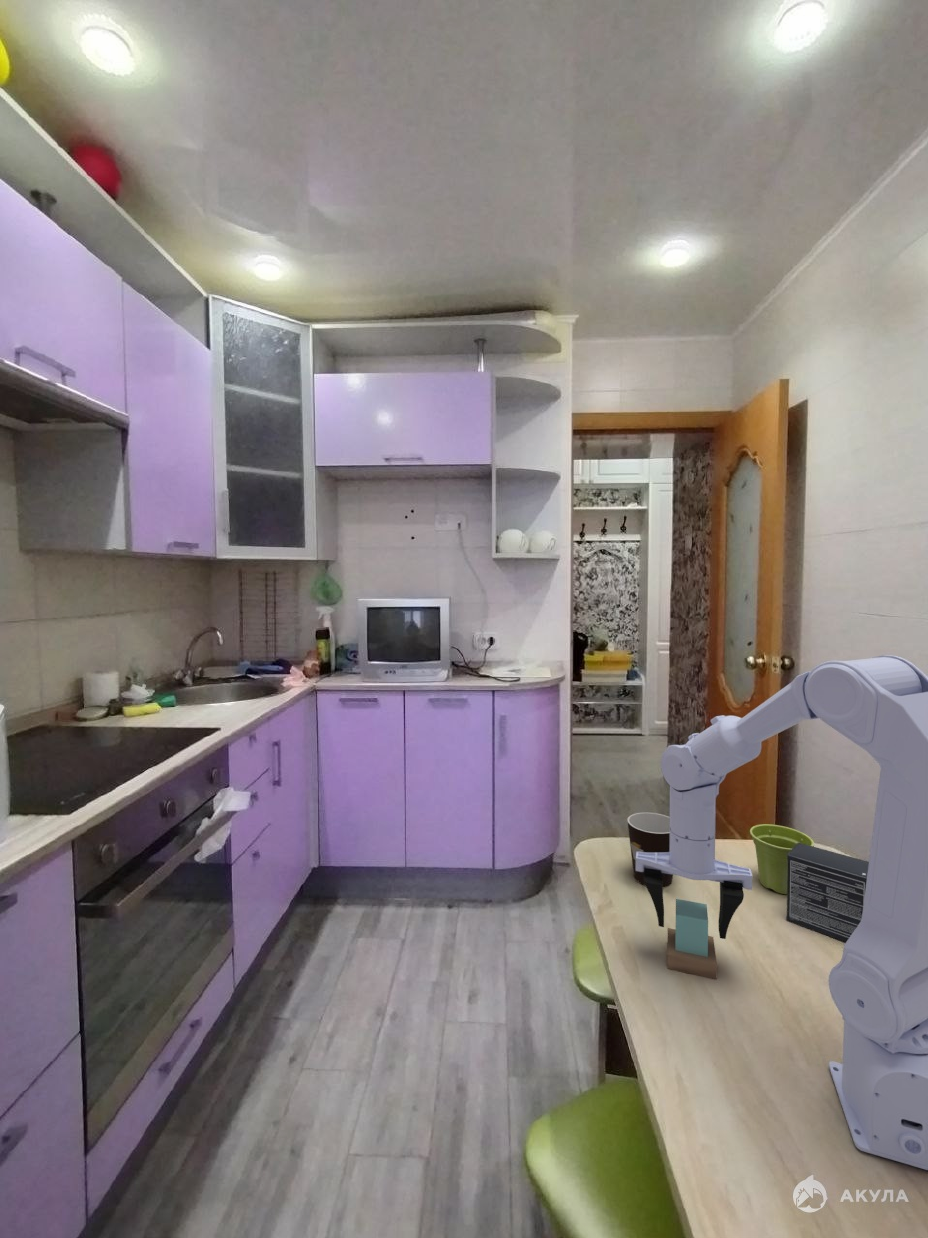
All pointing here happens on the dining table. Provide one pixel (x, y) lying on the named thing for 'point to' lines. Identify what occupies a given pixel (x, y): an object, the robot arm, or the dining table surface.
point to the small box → (825, 890)
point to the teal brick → (691, 927)
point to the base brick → (692, 959)
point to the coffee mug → (649, 839)
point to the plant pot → (775, 853)
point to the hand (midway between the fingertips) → (691, 928)
